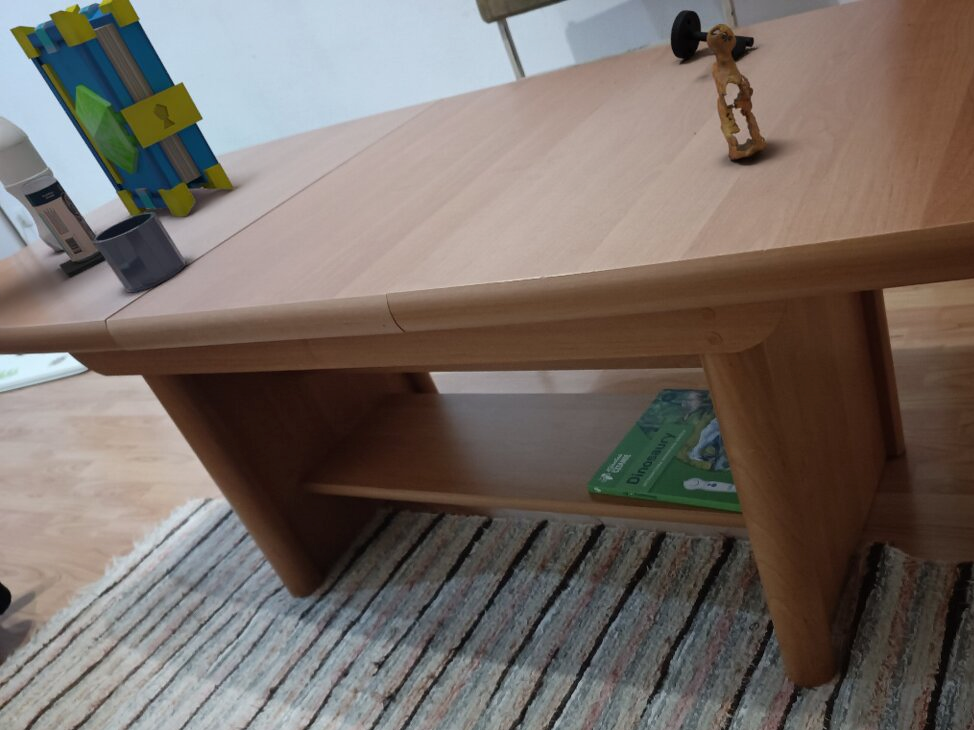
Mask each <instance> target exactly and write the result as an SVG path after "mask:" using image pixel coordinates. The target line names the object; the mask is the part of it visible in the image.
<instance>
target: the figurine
mask: <svg viewBox="0 0 974 730" xmlns="http://www.w3.org/2000/svg"><path fill="white" fill-rule="evenodd" d="M717 31H719V32H718V34H716V35H712V33H716V32H717ZM723 34H726V37H722V35H723ZM728 36H729V37H730V40H728V38H727V37H728ZM706 45H707V47H708V49H710V51H712V52H713V54H714V57H715V61H714V62H713V63H712V66H711V75H712V78H713V80H714V83H715V87H716V92H717V94H718V97H717V100H716V107H717V113H718V117H719V120H720V130H721V132H722V134H723V136H724V139H725V140H726V143H727V145H728V155H727V156H728V158H729V159H730V160H732V161H733V160H739V159H743V158H749V157H750V158H751V157H752V156H754V155H755V154H756V153H760V152H763V150H766V147H767V145H768V144H767V142H766V139H765V137H764V136H762V135H761V133H760V132H761V130H760V128H759V124H758V122H757V119H756V116H755V114H754V113H753V112H752V110H753V102H752V96H754V95H753V94H754V88H753V87H751V83H750V80H749V78H748V77H746V76H745V75H743V74H742V73H741V71H740V70H739V68H738V66H737V64H736V61H735V59H733V58H732V55H731V51H732V49H733V48H734V47H735V45H736V38H735V33H734V32H733V29H731V28H730V27H729V25H727V24H725V23H718V24H716V25H714V26H713V27H712V28H711V29H710V30H709V31H708V35H707V42H706ZM728 84H733V85H736V86H737V88H738V93H736V94H737V95H736V98H733V103H732V104H731V103H730V104H728V103H727V102H726V98H725V97H726V96H727V95H728V94H727V86H728ZM733 109H735V110H738V109H740V110H739V113H740V115H742V117H745V122H746V125H747V130H748V134H749V136H750V138H747V139H746V141H745V142H744V143H739V140H738V139H737V137H736V136H735V135H734V134H738V133H740V132H741V129H740V127H739V125H738V123H736V121H737V120H736V118H735V114H734V113H733Z"/></svg>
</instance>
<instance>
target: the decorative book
mask: <svg viewBox="0 0 974 730" xmlns="http://www.w3.org/2000/svg"><path fill="white" fill-rule="evenodd" d="M48 15H49V17H50V19H49V20H47V21H44V22H42V23H39V24H37V25H36V27H35V26H25V25H18V26H15V27H12V28H10V29H9V31H10V32H11V34H12V36H13V37H14V39H15V40H16V42H17V43H18V45H19V46H20V48H21V49H22V51H23V53H24V54H25V56H26V58H28V60H31V62H32V64H33V65H34V66H35V68H36V70H37V71H38V72H39V74H40V76H41V77H42V80H44V82H45V84H46V85H47V86H48V88H49V90H50V91H51V92H52V94H53V96H54V97H55V99H56V100H57V102H58V103H59V105H60V107H61V108H62V109H63V111H64V113H65V114H66V116H67V117H68V119H69V121H70V122H71V123H72V125H73V126H74V128H75V130H76V132H77V133H78V135H79V136H80V138H81V139H82V141H83V142H84V144H85V145H86V147H87V148H88V150H89V151H90V153H91V155H92V156H93V157H94V159H95V160H96V163H97V164H98V165H99V167H100V168H101V170H102V171H103V173H104V175H105V176H106V177H107V179H108V181H109V183H110V184H111V185H112V187H113V188H114V190H115V193H116V195H117V197H118V198H119V199H120V201H121V203H122V205H124V207H125V209H126V210H127V212H128V213H129V215H130V217H132V216H135V215H138V214H142V213H145V212H146V211H147V210H148V209H149V210H163V209H168V210H169V211H170V213H171V215H172V216H173V217H184V218H185V217H188V214H189V213H190V211H191V209H192V208H193V207H194V204H195V203H196V199H195V197H194V196H193V194H192V192H191V191H190V190H200V189H203V190H235V187H234V186H233V184H232V182H231V180H230V178H229V177H228V174H227V173H226V171H225V169H224V168H223V165H222V164H221V162H219V161H218V159H217V157H216V155H215V154H214V151H213V150H212V148H211V146H210V145H209V143H208V140H207V139H206V138H205V135H204V133H203V132H202V130H201V128H200V127H199V125H198V122H200V121H202V120H204V118H203V116H202V115H201V112H200V111H199V109H198V107H197V105H196V104H195V102H194V100H193V98H192V96H191V95H190V93H189V91H188V89H187V88H186V86H185V83H184V82H183V81H181V82H179V83H176V84H175V82H174V81H173V79H172V78H171V76H170V74H169V72H168V70H167V69H166V67H165V65H164V63H163V61H162V58H160V55H159V54H158V53H157V51H156V49H155V47H154V45H153V44H152V42H151V40H150V38H149V37H148V34H147V33H146V31H145V29H144V28H143V26H142V24H141V22H140V20H141V19H140V17H139V15H138V13H137V12H136V9H135V8H134V6H133V5H132V3H131V1H130V0H102V1H101V2H100V3H97V2H94V3H92V4H89V5H86V6H83V7H80V6H79V4H78V3H76V4H73V5H71V6H69V7H68V6H67V7H66V8H65V10H62V9H60V10H58V11H55V12H52V13H50V14H48Z"/></svg>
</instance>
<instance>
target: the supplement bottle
mask: <svg viewBox="0 0 974 730" xmlns="http://www.w3.org/2000/svg"><path fill="white" fill-rule="evenodd" d="M22 187H23V193H24V195H25V197H26V198H27V199H28V201H29V202H30V204H31V205H32V206H33V208H34V209H35V211H36V212H37V213H38V215H39V216H40V218H41V219H42V220H43V222H44V223H45V225H46V226H47V227H48V229H49V230H50V232H51V233H52V234H53V236H54V237H55V238H56V240H57V241H58V243H59V244H60V245H61V247H62V248H63V250H62V251H64V253H65V254H66V255H67V257H68V258H69V260H70V259H71V261H77V262H82V261H85V260H88V259H90V258H92V257H94V256H96V255H97V254H99V253H100V252H99V250H98V249H97V248H96V246H95V245H94V243H93V242H92V240H93V239H94V237H95V236H97V235H96V234H95V233H94V231H93V230H92V228H91V227H90V225H89V224H88V222H87V220H86V219H85V218H83V217H84V216H83V215H82V213H81V212H80V211H79V209H78V207H77V206H76V205H75V203H74V202H73V200H72V199H71V198H70V196H69V194H68V193H67V191H66V190H65V189H64V187H63V186H62V185H61V183H60V181H59V180H58V179H57V178H56V177H55V176H54V177H53V176H51V175H50V174H46V175H43V176H40V177H37V178H35V179H33V180H31V181H29V182H27V183H25V184H24V185H23V186H22Z"/></svg>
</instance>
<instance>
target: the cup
mask: <svg viewBox="0 0 974 730" xmlns="http://www.w3.org/2000/svg"><path fill="white" fill-rule="evenodd" d="M92 242H93V243H94V245H95V246H96V248H97V249H98V250H99V252H100V253H101V255H102V256H103V258H104V259H105V260H104V261H105V262H106V263H107V265H108V266H109V268H110V269H111V271H112V272H113V273H114V275H115V277H116V279H118V281H119V282H120V284H121V285H122V287H123V288H124V289H125V290H126V292H128V293H138V292H142V291H145V290H148V289H151V288H153V287H156V286H158V285H160V284H162V283H165V282H166V281H168V280H169V279H171V278H173V277H175V276H176V275H177V274H178V273H179V272H181V271H182V270H183V269H184V268H185V266H186V263H187V262H186V260H185V259H186V258H184V256H183V255H182V253H181V251H180V250H179V249H178V247H177V245H176V243H175V242H174V240H173V239H172V237H171V235H170V234H169V233H168V231H167V229H166V228H165V226H164V225H163V223H162V221H161V219H160V218H159V217H158V215H157V213H156V212H154V211H147V212H146V211H145V212H144V213H142V214H138V215H135V216H130V217H128V218H124V219H123V220H121V221H119V222H116V223H114V224H112V225H111V226H109V227H106V228H105V229H104V230H102V231H101V232H99V233H98V234H97V235H96V236H95V237H94V239H93V240H92Z"/></svg>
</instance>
